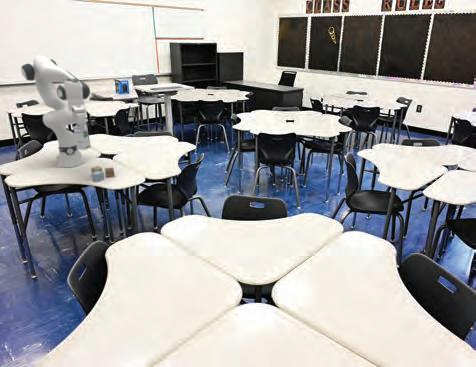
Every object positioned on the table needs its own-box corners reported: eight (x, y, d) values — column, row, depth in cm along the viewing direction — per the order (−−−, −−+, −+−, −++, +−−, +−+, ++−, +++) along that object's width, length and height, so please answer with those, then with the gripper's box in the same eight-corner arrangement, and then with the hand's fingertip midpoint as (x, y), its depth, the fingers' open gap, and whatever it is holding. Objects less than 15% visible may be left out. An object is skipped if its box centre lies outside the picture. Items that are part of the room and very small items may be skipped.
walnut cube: (105, 175, 228) (104, 168, 227) (113, 174, 230) (112, 167, 229) (106, 178, 224) (105, 170, 222) (114, 176, 226) (113, 169, 224)
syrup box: (85, 150, 214) (81, 126, 209) (76, 149, 215) (72, 126, 210) (91, 147, 219) (87, 124, 214) (82, 147, 220) (78, 124, 215)
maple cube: (92, 174, 230) (90, 167, 228) (99, 172, 234) (98, 165, 232) (95, 176, 227) (94, 169, 225) (103, 174, 231) (101, 167, 229)
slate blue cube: (92, 180, 220) (91, 173, 218) (98, 178, 224) (97, 170, 222) (98, 182, 218) (97, 174, 216) (104, 179, 222) (103, 172, 220)
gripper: (67, 105, 214) (72, 127, 219) (74, 110, 198) (78, 134, 204) (78, 104, 218) (82, 126, 223) (86, 109, 202) (90, 132, 207)
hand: (80, 130), depth 213 cm, fingers closed on syrup box, 8 cm apart
